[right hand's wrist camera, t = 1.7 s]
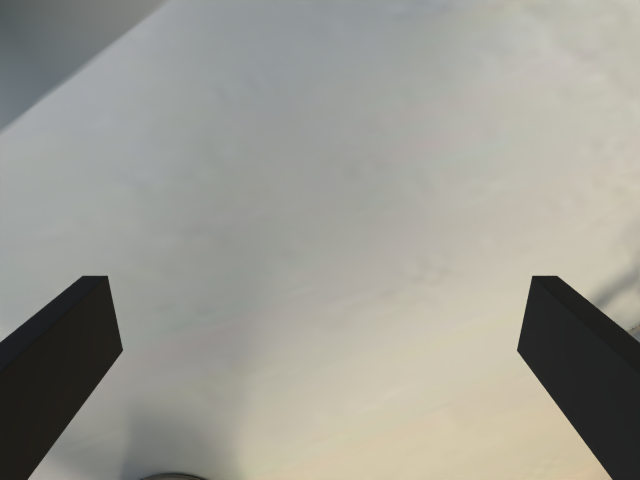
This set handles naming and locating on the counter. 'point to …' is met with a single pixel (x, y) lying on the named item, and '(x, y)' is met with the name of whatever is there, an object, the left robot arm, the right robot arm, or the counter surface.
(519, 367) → the counter surface
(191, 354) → the counter surface
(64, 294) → the right robot arm
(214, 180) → the counter surface
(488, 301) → the counter surface
